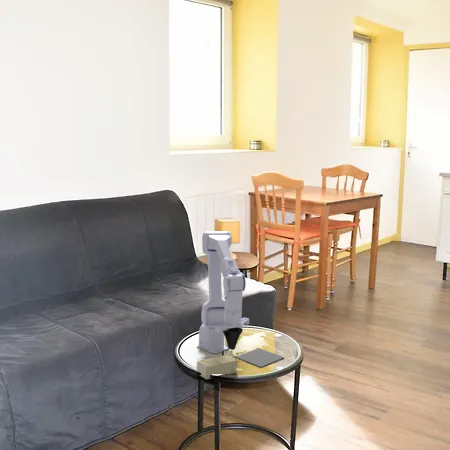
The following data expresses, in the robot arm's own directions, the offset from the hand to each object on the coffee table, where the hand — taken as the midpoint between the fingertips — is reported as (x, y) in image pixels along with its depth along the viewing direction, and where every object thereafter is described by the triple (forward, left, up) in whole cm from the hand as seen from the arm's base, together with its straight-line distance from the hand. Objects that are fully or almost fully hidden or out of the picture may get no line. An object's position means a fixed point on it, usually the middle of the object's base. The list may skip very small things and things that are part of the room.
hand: (231, 348), depth 192 cm
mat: (-1, +16, -8) cm, 18 cm away
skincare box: (-1, +1, -6) cm, 6 cm away
